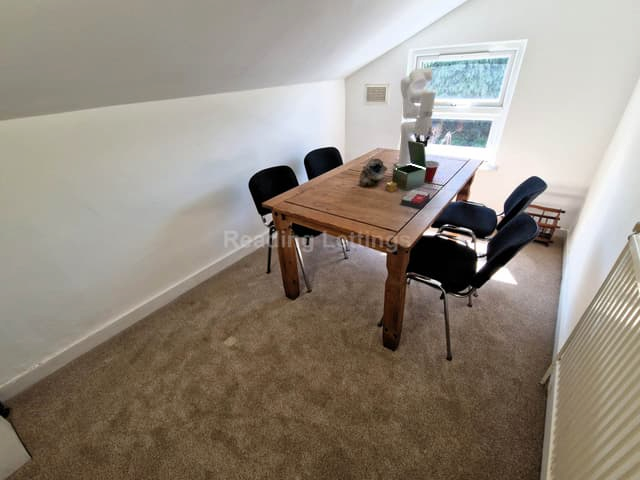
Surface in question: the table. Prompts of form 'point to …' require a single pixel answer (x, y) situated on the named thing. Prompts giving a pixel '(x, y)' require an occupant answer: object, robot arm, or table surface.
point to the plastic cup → (430, 170)
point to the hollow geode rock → (372, 172)
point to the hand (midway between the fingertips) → (421, 145)
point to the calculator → (415, 199)
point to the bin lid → (417, 153)
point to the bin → (409, 176)
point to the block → (391, 186)
